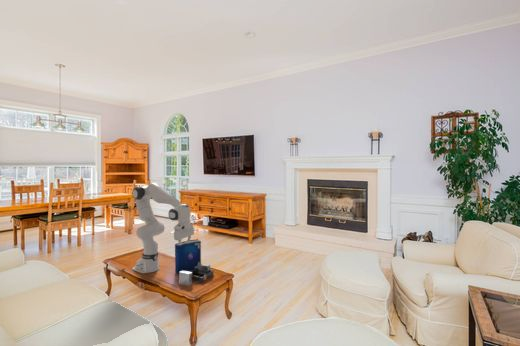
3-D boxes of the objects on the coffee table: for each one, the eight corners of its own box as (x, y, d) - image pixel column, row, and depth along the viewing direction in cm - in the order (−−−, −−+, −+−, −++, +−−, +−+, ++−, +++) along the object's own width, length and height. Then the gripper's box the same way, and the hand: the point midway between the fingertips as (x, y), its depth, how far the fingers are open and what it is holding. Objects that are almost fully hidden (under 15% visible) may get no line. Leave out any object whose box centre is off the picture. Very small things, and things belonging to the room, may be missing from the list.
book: (176, 275, 214) (176, 244, 213) (173, 272, 220) (174, 242, 219) (201, 269, 227) (201, 240, 226) (198, 266, 233) (198, 238, 232)
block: (179, 283, 199) (179, 272, 198) (182, 281, 202) (182, 270, 202) (188, 286, 195) (189, 274, 195) (192, 284, 199) (192, 272, 198)
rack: (187, 280, 205) (188, 268, 205) (200, 272, 220) (200, 261, 220) (202, 283, 200) (202, 271, 200) (213, 275, 215) (213, 264, 215)
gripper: (189, 222, 213) (189, 239, 213) (172, 227, 194) (172, 246, 194) (195, 223, 211) (196, 240, 211) (179, 228, 192) (179, 247, 192)
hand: (184, 243), depth 202 cm, fingers open, 8 cm apart
